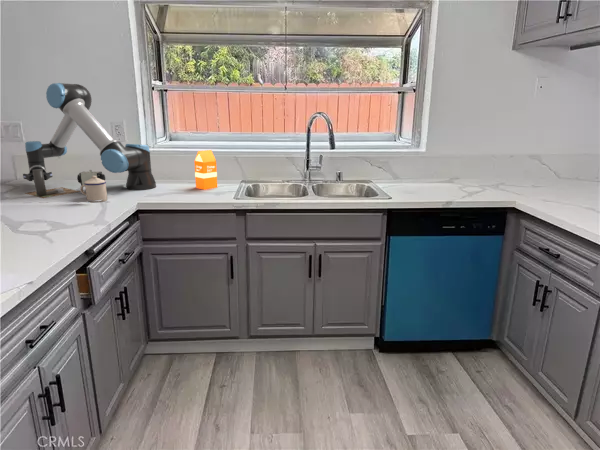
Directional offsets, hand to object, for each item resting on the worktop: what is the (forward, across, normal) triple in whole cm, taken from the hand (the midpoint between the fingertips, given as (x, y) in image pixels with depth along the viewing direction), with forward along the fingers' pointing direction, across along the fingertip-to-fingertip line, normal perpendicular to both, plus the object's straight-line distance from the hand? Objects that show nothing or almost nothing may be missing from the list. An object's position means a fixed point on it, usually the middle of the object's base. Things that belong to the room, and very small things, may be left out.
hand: (38, 180), depth 197 cm
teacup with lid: (+22, -21, -8) cm, 31 cm away
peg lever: (+3, -4, -6) cm, 8 cm away
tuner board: (-1, -5, -8) cm, 9 cm away
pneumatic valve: (+6, -23, -8) cm, 25 cm away
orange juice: (+17, -77, -8) cm, 80 cm away
